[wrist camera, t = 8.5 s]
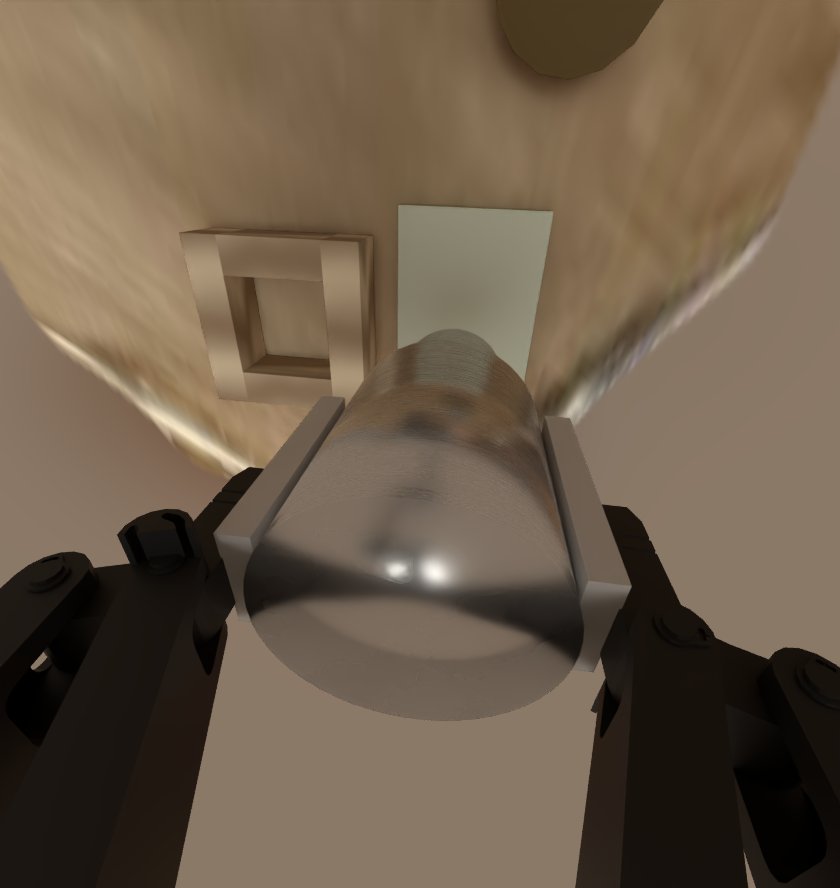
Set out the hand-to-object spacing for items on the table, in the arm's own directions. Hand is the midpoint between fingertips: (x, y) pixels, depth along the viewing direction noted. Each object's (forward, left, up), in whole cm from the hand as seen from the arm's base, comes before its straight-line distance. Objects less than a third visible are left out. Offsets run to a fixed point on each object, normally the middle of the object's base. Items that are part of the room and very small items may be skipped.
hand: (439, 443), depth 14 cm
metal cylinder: (0, 0, -6) cm, 6 cm away
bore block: (+2, -13, -20) cm, 24 cm away
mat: (0, 0, -20) cm, 20 cm away
